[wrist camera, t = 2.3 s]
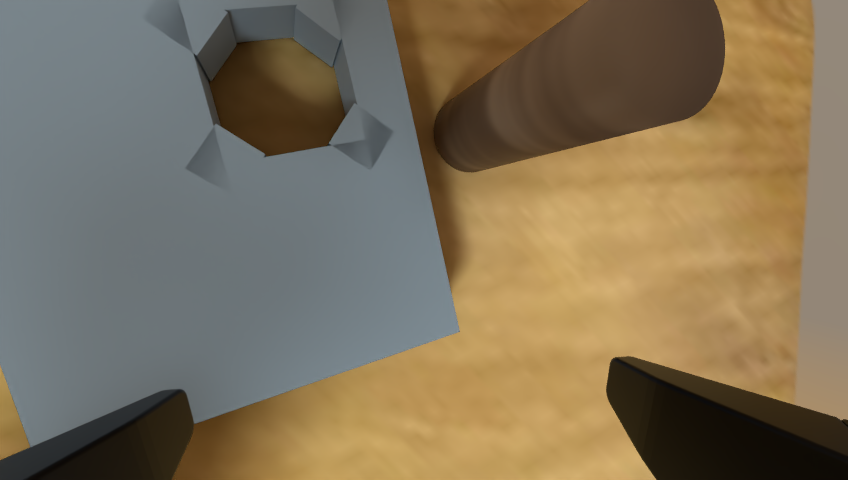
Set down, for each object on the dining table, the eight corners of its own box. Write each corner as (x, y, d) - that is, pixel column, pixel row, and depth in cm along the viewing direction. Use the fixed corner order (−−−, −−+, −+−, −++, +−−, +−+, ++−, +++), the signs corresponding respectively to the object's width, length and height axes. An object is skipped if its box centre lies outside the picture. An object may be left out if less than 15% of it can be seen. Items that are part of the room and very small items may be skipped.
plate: (82, 433, 17) (41, 477, 14) (-58, 32, 15) (-139, -12, 12) (436, 317, 22) (459, 331, 19) (365, 1, 20) (379, -35, 17)
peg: (443, 178, 21) (620, 133, 10) (426, 101, 21) (594, -38, 10) (508, 164, 23) (733, 109, 11) (494, 91, 22) (714, -44, 11)
